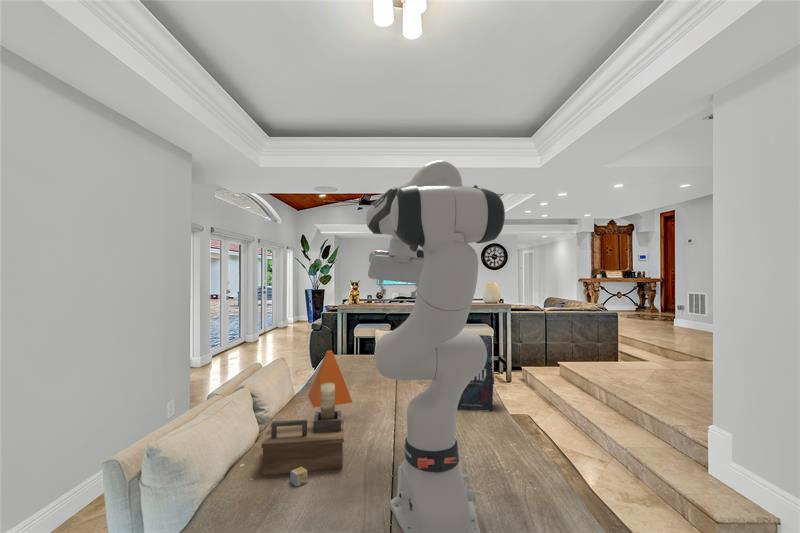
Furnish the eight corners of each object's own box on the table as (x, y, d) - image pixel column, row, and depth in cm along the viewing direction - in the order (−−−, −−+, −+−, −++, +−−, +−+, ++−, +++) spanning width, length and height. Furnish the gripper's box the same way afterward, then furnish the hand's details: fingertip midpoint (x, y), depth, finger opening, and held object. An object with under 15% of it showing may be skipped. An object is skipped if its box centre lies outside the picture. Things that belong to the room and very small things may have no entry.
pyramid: (352, 402, 151) (352, 353, 152) (313, 408, 146) (313, 356, 146) (343, 391, 166) (343, 346, 166) (307, 395, 160) (307, 348, 161)
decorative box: (493, 411, 141) (493, 337, 142) (449, 409, 144) (449, 336, 144) (491, 404, 149) (491, 334, 150) (450, 402, 152) (449, 333, 152)
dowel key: (334, 428, 106) (334, 386, 106) (320, 429, 105) (320, 386, 106) (334, 423, 110) (335, 382, 110) (321, 424, 109) (321, 382, 110)
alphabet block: (290, 482, 93) (290, 470, 93) (301, 477, 95) (301, 465, 95) (296, 487, 91) (296, 475, 91) (307, 482, 93) (307, 470, 93)
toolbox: (343, 469, 100) (343, 423, 100) (261, 475, 96) (261, 428, 97) (343, 445, 113) (343, 405, 113) (271, 450, 110) (271, 409, 110)
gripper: (369, 247, 116) (364, 292, 114) (435, 254, 115) (431, 299, 114) (370, 251, 122) (365, 293, 120) (433, 257, 122) (429, 299, 120)
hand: (398, 296), depth 117 cm, fingers open, 8 cm apart
